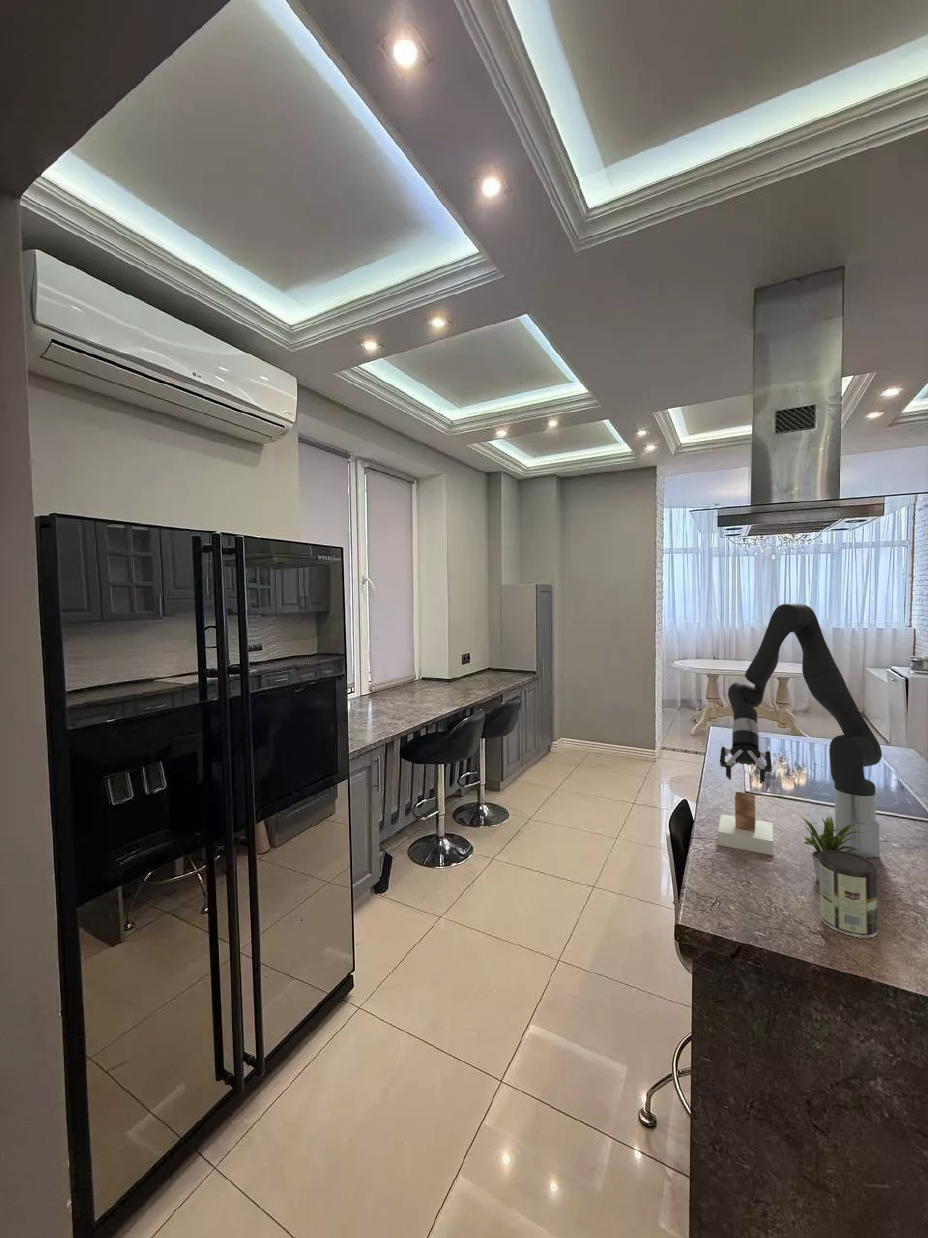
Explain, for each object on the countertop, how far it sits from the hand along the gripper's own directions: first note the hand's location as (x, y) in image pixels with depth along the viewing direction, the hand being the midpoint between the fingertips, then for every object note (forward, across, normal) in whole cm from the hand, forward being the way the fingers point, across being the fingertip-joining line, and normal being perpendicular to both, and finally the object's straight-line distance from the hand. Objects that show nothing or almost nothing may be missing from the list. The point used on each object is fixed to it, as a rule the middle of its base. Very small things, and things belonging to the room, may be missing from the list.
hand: (745, 780), depth 156 cm
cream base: (+15, 0, +8) cm, 17 cm away
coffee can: (+40, +20, -16) cm, 48 cm away
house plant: (+28, +20, -4) cm, 34 cm away
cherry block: (+12, 0, +5) cm, 14 cm away
